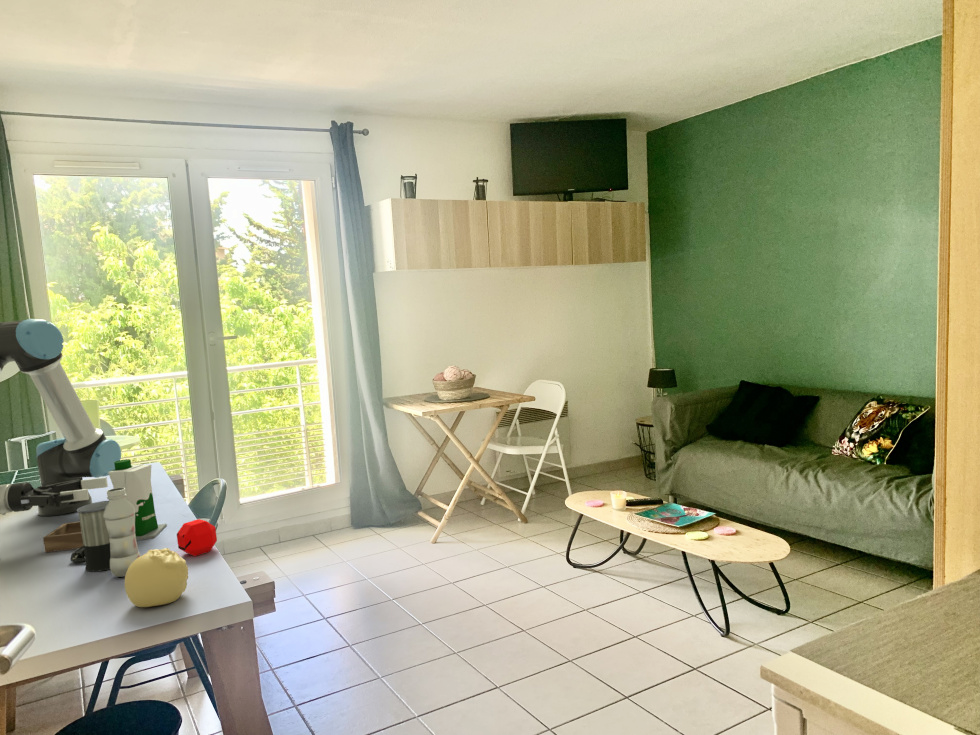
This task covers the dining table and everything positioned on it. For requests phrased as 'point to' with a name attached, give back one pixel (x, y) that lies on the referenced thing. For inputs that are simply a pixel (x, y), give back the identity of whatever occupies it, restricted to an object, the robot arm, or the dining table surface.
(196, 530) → the ball
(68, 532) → the holder
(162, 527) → the mat
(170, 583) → the pale yellow rounded lump
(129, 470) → the soya milk
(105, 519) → the plastic bottle
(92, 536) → the milk frother
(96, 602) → the dining table surface
